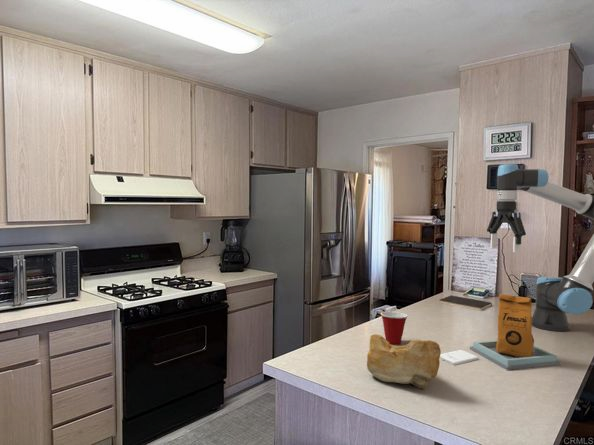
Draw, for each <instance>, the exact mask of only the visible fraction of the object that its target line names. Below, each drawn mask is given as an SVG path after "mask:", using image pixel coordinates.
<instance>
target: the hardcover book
mask: <svg viewBox="0 0 594 445" xmlns="http://www.w3.org/2000/svg"><path fill="white" fill-rule="evenodd" d="M439 303H440V304H445V305H451V306H454V307H458V308H459V307H461V308H465V309H471V310H475V311H482V310H484V309H487V308H489V307H491V306H492V305H493V303H492V302H491V301H485V300H481V299H474V298H468V297H464V296H458V295H448V296H446V297H443V298H440V299H439Z"/></svg>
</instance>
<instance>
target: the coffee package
mask: <svg viewBox="0 0 594 445" xmlns="http://www.w3.org/2000/svg"><path fill="white" fill-rule="evenodd" d="M532 306H533V304H532V297H526V296H517V295H510V294H504V293H503V294H502V293H499V296H498V315H497V339H496V340H497V344H496V350H497V352H500V353H503V354H507V355H512V356H515V357H520V358H523V357H531V356H533V348H534V346H535V339H534V336H533V333H532V332H533V331H532V328H533V325H532V317H533V315H532Z"/></svg>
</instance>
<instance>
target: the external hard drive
mask: <svg viewBox="0 0 594 445" xmlns="http://www.w3.org/2000/svg"><path fill="white" fill-rule="evenodd" d="M439 360H441V361H445V362H446V363H448V364H450V365H451V366H456V365H459V364H465V363H469V362H472V361H478V360H479V357H478V356H477V355H475V354H472V353H470V352H468V351H465V350H463V349H457V350H454V351H449V352H445V353H441V354H440V358H439Z"/></svg>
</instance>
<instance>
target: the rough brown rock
mask: <svg viewBox="0 0 594 445" xmlns="http://www.w3.org/2000/svg"><path fill="white" fill-rule="evenodd" d="M368 348H369V351H368V353H367V355H366V356H367V357H366V358H367V360H366V361H367V362H366V368H367V370H368V372H370V373H371V375H372V376H373V377H374V378H376V379H377V380H379V381H382V382H386V383H396V384H397V383H398V384H401V385H402V384H403V385H404V384H412V385H413V386H414V387H416V388H418V389H421V388H422V389H425V388H427V386H428V384H429V382H430V380H431V379H432V378H436V377H437V376H438V372H439V368H440V363H441V362H440V359H439V358H440V354H442V353H441V347H440V344H439V343H437V342H436V341H433V340H429V339H428V340H421V339H415V340H410V342H408V343H407V344H405V345H404V344H403V345H391V344H390V343H389V342H388V341H386V338H384V337H383V336H382V335H381V334H376V333H375V334H372V335H370V337H369V347H368ZM422 389H421V390H422Z"/></svg>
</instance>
